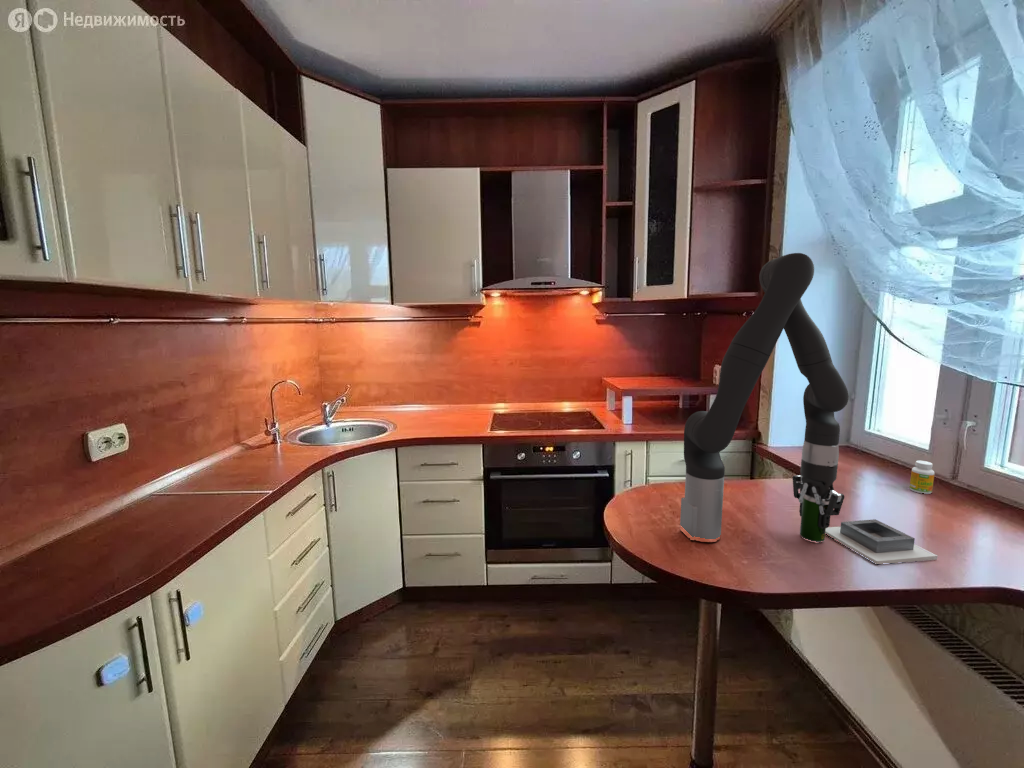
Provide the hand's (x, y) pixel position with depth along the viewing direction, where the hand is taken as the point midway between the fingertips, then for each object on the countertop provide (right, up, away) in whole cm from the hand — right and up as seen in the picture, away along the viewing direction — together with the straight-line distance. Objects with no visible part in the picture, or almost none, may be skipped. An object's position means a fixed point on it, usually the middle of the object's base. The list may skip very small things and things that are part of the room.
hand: (813, 521), depth 111 cm
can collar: (+14, -5, -3) cm, 15 cm away
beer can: (0, -5, +1) cm, 5 cm away
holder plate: (+14, -5, -3) cm, 15 cm away
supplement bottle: (+55, +1, +29) cm, 62 cm away
